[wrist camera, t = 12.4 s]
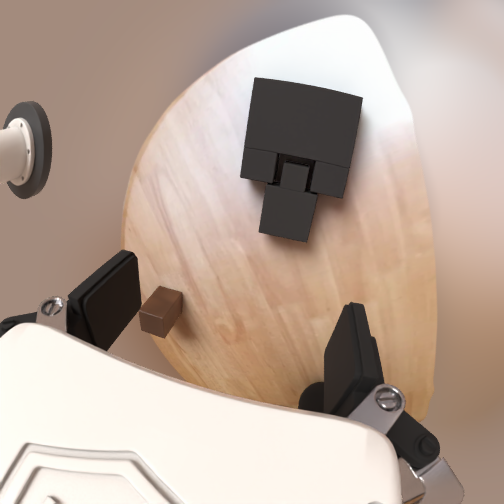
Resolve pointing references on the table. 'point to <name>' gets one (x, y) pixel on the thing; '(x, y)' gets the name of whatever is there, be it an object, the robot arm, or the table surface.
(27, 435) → the robot arm
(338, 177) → the base pad
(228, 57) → the table surface
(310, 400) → the decorative object
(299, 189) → the small pad
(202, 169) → the table surface
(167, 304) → the stand
